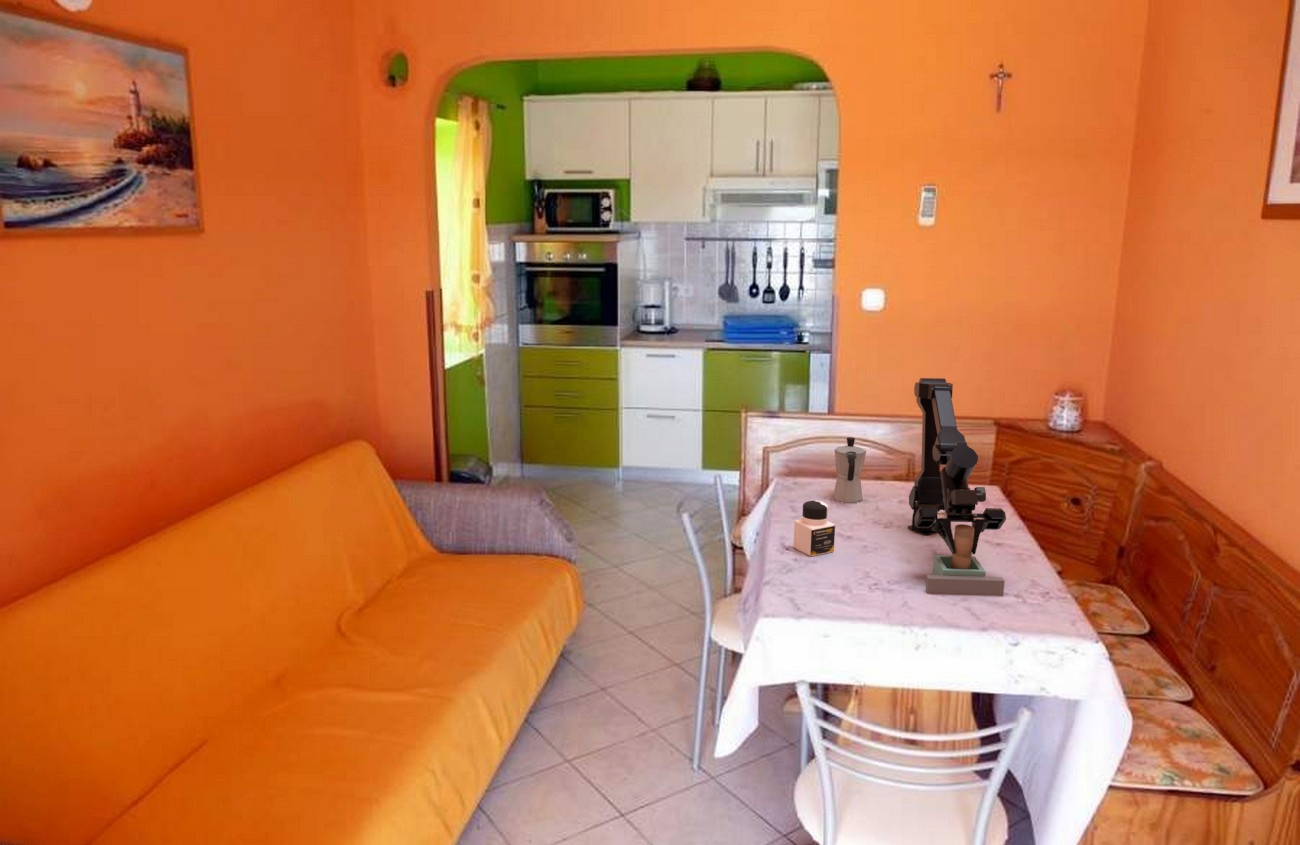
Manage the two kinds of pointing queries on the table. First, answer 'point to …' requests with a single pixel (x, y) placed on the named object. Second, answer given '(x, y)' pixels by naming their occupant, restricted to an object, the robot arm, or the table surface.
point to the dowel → (962, 546)
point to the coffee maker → (849, 472)
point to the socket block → (944, 568)
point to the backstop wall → (965, 585)
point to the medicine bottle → (814, 530)
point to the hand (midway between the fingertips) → (964, 553)
